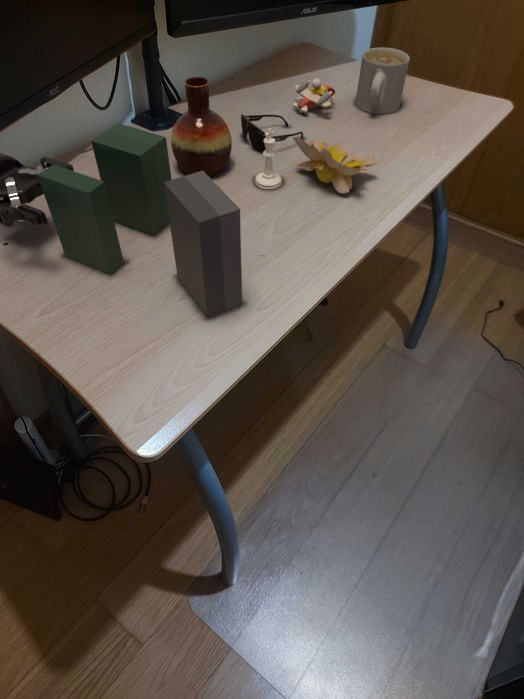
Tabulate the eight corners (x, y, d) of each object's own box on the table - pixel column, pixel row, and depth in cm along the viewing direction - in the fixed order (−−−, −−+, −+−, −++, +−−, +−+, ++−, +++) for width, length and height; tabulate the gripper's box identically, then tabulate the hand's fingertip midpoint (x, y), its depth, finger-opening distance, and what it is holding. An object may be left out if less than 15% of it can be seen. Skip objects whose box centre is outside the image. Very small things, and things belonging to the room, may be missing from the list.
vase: (165, 159, 100) (154, 75, 88) (218, 146, 103) (213, 64, 92) (187, 187, 94) (177, 100, 82) (242, 173, 97) (240, 88, 85)
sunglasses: (232, 134, 106) (234, 109, 103) (281, 128, 112) (284, 104, 108) (258, 157, 101) (261, 131, 97) (308, 150, 106) (312, 125, 102)
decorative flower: (393, 176, 93) (392, 126, 85) (348, 210, 91) (342, 162, 83) (335, 149, 102) (330, 100, 94) (293, 179, 99) (283, 132, 91)
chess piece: (249, 180, 95) (249, 127, 88) (270, 172, 97) (272, 119, 90) (265, 192, 93) (266, 138, 85) (287, 183, 95) (290, 130, 87)
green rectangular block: (154, 236, 84) (140, 155, 74) (110, 220, 87) (90, 140, 76) (176, 216, 88) (166, 136, 77) (134, 201, 91) (118, 122, 80)
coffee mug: (366, 90, 121) (373, 44, 114) (406, 101, 118) (416, 53, 110) (341, 112, 114) (348, 64, 106) (383, 124, 111) (393, 75, 103)
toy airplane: (334, 102, 117) (338, 72, 112) (329, 120, 111) (333, 90, 106) (294, 98, 118) (296, 68, 113) (288, 116, 112) (289, 85, 107)
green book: (111, 274, 78) (88, 193, 67) (65, 256, 80) (36, 174, 70) (124, 262, 80) (104, 181, 69) (79, 245, 82) (53, 164, 72)
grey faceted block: (207, 318, 72) (198, 222, 60) (177, 277, 78) (163, 181, 66) (242, 304, 74) (240, 208, 62) (210, 265, 80) (202, 170, 67)
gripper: (-66, 173, 72) (20, 206, 67) (11, 130, 80) (93, 157, 75) (-42, 218, 78) (38, 252, 73) (27, 174, 86) (104, 202, 81)
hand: (66, 204), depth 74 cm, fingers open, 8 cm apart
